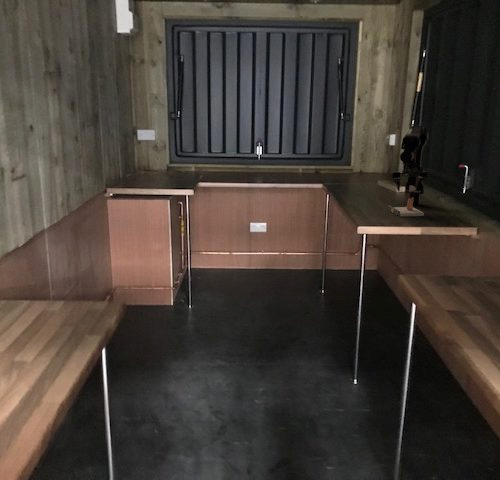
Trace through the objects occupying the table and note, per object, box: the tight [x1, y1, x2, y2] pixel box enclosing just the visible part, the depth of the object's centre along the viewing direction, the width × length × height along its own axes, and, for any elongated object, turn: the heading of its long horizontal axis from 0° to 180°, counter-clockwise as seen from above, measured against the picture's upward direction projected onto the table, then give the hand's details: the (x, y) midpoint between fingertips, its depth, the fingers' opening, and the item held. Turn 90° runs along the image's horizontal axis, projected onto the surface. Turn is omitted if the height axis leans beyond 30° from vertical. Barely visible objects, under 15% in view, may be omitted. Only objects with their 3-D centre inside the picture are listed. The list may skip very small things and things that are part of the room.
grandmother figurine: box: [406, 185, 416, 211], centre depth 254 cm, size 8×4×13 cm, turn 1°
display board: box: [387, 205, 425, 217], centre depth 256 cm, size 15×13×2 cm
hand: (407, 191), depth 259 cm, fingers open, 9 cm apart
